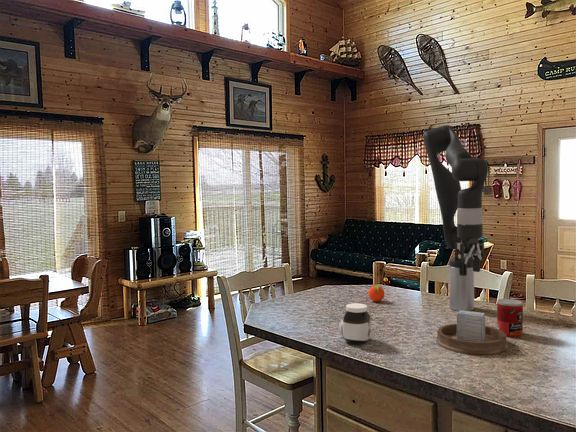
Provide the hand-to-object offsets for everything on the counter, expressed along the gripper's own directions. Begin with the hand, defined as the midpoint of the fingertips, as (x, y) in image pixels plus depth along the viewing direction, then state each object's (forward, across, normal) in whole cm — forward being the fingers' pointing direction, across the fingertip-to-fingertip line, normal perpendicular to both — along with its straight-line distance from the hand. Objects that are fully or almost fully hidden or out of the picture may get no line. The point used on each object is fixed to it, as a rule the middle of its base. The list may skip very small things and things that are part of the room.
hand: (469, 273), depth 151 cm
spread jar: (+22, +24, -28) cm, 43 cm away
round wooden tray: (+22, +1, +1) cm, 22 cm away
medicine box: (+21, +1, +1) cm, 21 cm away
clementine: (+23, -23, -55) cm, 63 cm away
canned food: (+22, -17, +5) cm, 29 cm away
